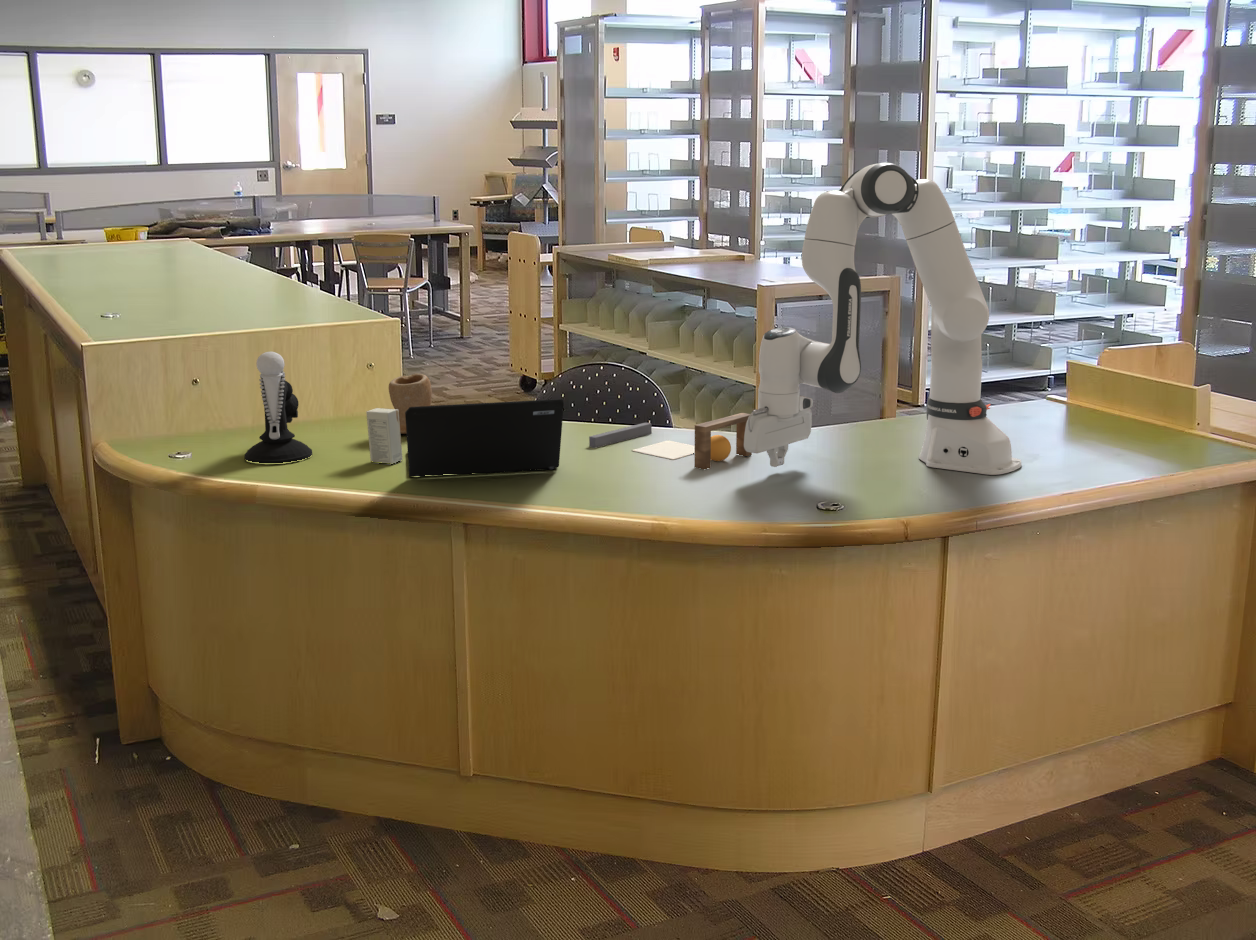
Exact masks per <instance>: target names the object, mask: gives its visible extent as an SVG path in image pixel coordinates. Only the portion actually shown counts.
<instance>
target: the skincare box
mask: <svg viewBox="0 0 1256 940" xmlns="http://www.w3.org/2000/svg"><path fill="white" fill-rule="evenodd" d="M365 414H366V421H367V432H368V433H367V435H368V436H367V437H368V444H369V458H370V462H371V461H373V462H382V463H391V464H393V463H395V464H397V463H396V462H398V461H400V462H402V461H403V450H402V437H401V434H400V422H399V410H398V409H394V408H383V407H381V408H379V407H376V408H373V409H370V410H367V411H366V412H365ZM401 460H402V461H401ZM398 463H399V462H398ZM391 464H390V465H391ZM393 465H394V464H393Z"/></svg>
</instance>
